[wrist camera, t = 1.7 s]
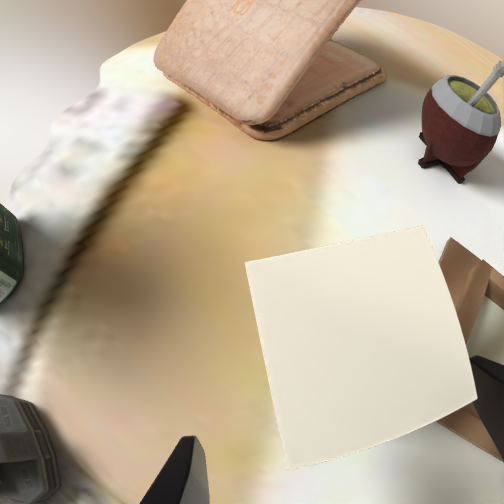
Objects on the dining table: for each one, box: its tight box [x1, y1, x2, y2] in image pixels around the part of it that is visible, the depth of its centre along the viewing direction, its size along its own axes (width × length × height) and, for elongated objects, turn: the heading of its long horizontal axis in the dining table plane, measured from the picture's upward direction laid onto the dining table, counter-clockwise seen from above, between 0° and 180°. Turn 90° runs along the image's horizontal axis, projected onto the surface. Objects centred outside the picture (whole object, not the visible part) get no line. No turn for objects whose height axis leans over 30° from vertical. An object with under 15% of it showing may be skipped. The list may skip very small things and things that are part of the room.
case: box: [154, 0, 386, 140], centre depth 24 cm, size 20×21×16 cm
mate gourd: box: [418, 60, 504, 184], centre depth 17 cm, size 8×8×15 cm
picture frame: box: [436, 237, 504, 462], centre depth 15 cm, size 14×12×2 cm
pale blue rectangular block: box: [245, 226, 477, 470], centre depth 11 cm, size 4×4×13 cm
